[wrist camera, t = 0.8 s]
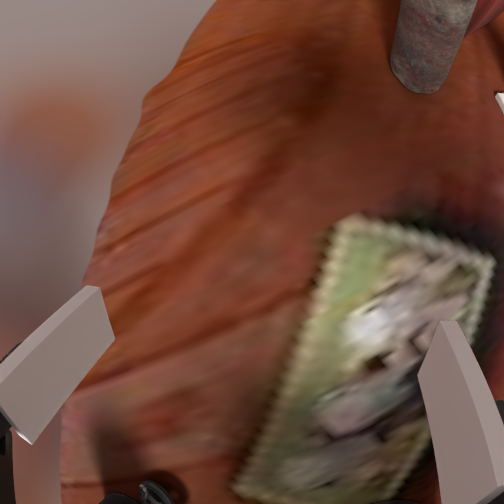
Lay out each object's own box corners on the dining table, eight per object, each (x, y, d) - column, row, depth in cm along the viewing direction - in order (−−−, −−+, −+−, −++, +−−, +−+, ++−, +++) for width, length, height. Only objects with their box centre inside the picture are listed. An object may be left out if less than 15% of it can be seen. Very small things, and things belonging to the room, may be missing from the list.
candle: (376, 56, 30) (392, -76, 10) (419, 47, 29) (449, -69, 9) (409, 101, 28) (457, -35, 9) (452, 90, 27) (509, -26, 8)
